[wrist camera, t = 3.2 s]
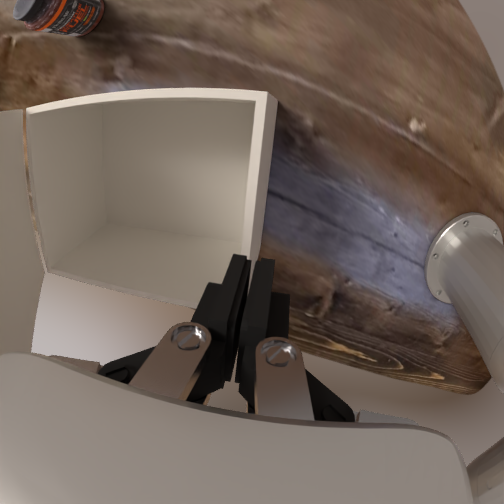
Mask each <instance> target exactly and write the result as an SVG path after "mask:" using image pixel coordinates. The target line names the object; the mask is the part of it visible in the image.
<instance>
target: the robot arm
mask: <svg viewBox="0 0 504 504" xmlns="http://www.w3.org/2000/svg"><path fill="white" fill-rule="evenodd" d="M251 262H252V260H248V259H247V256H245V255H239V254H233V256H232V258H231V261H230V263H229V266H228V269H227V271H226V274H225V276H224V279H223V282H222V284H218V283H212V282H208V284H207V286H206V288H205V290H204V293H203V295H202V297H201V299H200V302H199V304H198V306H197V308H196V311H195V313H194V315H193V317H192V320H191V322H183V323H179V324H176V325H175V326H172V327H171V328H170V329H169V330H168V331H167V333H166V334H165V335H164V337H163V338H162V340H161V341H160V342H159V343H158V345H157V346H155V347H152V348H149V349H146V350H144V351H141V352H138V353H135V354H132V355H129V356H126V357H123V358H120V359H117V360H114V361H111V362H109V363H107V364H105V365H104V366H101V365H100V363H99V362H94V361H86V360H80V359H74V358H68V357H62V356H56V355H55V356H54V355H52V356H45V355H42V354H37V353H31V352H19V351H17V352H8V353H5V354H2V355H0V504H504V437H503V438H502V439H501V440H499V441H498V442H497V443H495V444H494V445H493V446H491V447H490V448H489V449H488V450H486V451H485V452H483V453H482V454H481V455H480V456H478V457H477V458H476V459H474V460H473V461H472V462H471V463H470V464H469V465H468V466H467V467H466V465H465V462H464V460H463V457H462V454H461V452H460V450H459V448H458V446H457V445H456V443H455V442H454V441H453V440H452V439H451V438H450V437H448V436H447V435H445V434H443V433H441V432H439V431H436V430H433V429H429V428H425V427H422V426H419V425H418V424H417V423H416V422H415V421H413V420H410V419H407V418H401V417H395V416H389V415H384V414H379V413H374V412H369V411H365V410H360V411H359V412H355V411H353V410H352V409H351V408H350V407H349V406H348V404H346V403H345V402H344V401H343V400H341V399H340V398H339V397H338V396H337V395H335V394H334V393H333V392H332V391H331V390H329V389H328V388H327V387H326V386H325V385H323V384H322V383H321V382H320V381H319V380H318V379H316V378H315V377H314V376H313V375H312V374H311V373H310V372H308V371H307V370H306V369H305V367H304V362H303V357H302V353H301V350H300V348H299V347H298V346H297V345H296V344H295V343H294V342H292V341H291V340H289V339H288V330H289V303H290V295H289V294H283V293H276V292H271V290H272V282H273V273H274V265H275V260H272V259H265V258H262V259H261V261H256V262H255V266H254V270H253V275H252V279H251V283H250V288H249V280H250V271H251ZM424 273H425V280H426V283H427V286H428V288H429V290H430V291H431V293H432V294H433V296H434V297H435V298H437V299H438V300H440V301H442V302H445V303H451V304H453V306H454V307H455V309H456V311H457V312H458V314H459V316H460V317H461V319H462V321H463V323H464V324H465V326H466V328H467V330H468V331H469V333H470V335H471V337H472V339H473V341H474V342H475V344H476V346H477V348H478V350H479V352H480V354H481V356H482V358H483V360H484V362H485V364H486V366H487V368H488V370H489V372H490V374H491V376H492V378H493V380H494V382H495V384H496V386H497V387H498V388H499V389H500V391H501V392H503V393H504V245H503V240H502V235H501V232H500V229H499V228H498V226H497V225H496V223H495V222H494V221H493V220H491V219H490V218H489V217H487V216H486V215H484V214H481V213H472V212H471V213H466V214H463V215H460V216H458V217H456V218H454V219H453V220H452V221H450V222H449V223H448V224H446V225H445V226H444V227H443V228H442V229H441V231H440V232H439V233H438V234H437V236H436V237H435V239H434V240H433V242H432V244H431V246H430V248H429V251H428V253H427V256H426V261H425V269H424ZM248 288H249V292H248ZM238 346H239V347H238ZM237 350H238V356H237V367H236V375H235V382H236V383H240V384H239V393H240V394H241V395H242V396H243V397H244V398H245V400H246V401H247V404H246V413H243V412H237V411H232V410H226V409H221V408H215V407H211V406H207V404H208V402H209V400H210V397H211V393H212V392H214V391H216V390H218V389H220V388H222V389H223V387H224V383H225V381H229V382H230V380H231V377H232V372H233V368H234V364H235V358H236V355H237Z"/></svg>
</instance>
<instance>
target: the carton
mask: <svg viewBox="0 0 504 504" xmlns="http://www.w3.org/2000/svg"><path fill="white" fill-rule="evenodd" d="M277 106H278V100H277V99H276V98H274V97H273V96H272V95H271V94H269V93H268V92H263V91H252V90H238V89H219V88H164V89H145V90H132V91H121V92H112V93H103V94H96V95H89V96H83V97H77V98H71V99H66V100H61V101H56V102H51V103H46V104H42V105H38V106H34V107H30V108H26V134H27V155H28V167H29V177H30V186H31V193H32V200H33V207H34V213H35V218H36V224H37V229H38V234H39V238H40V243H41V247H42V252H43V256H44V259H45V263H46V267H47V271H48V272H49V273H52V274H56V275H59V276H63V277H66V278H70V279H73V280H77V281H80V282H84V283H87V284H91V285H95V286H99V287H103V288H106V289H110V290H115V291H118V292H122V293H127V294H131V295H135V296H139V297H143V298H148V299H153V300H157V301H162V302H166V303H171V304H176V305H180V306H185V307H190V308H195V309H196V308H197V306H198V304H199V302H200V299H201V297H202V295H203V293H204V290H205V288H206V286H207V284H208V282H212V283H218V284H222V282H223V279H224V276H225V274H226V271H227V269H228V266H229V263H230V261H231V258H232V256H233V254H239V255H245V256H247V259H248V260H252V262H251V271H250V280H249V288H250V283H251V279H252V275H253V270H254V266H255V262H256V261H257V259H258V255H259V251H260V247H261V239H262V231H263V223H264V215H265V207H266V199H267V191H268V182H269V174H270V166H271V157H272V149H273V141H274V132H275V124H276V115H277ZM249 288H248V292H249Z"/></svg>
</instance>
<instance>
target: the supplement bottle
mask: <svg viewBox="0 0 504 504" xmlns="http://www.w3.org/2000/svg"><path fill="white" fill-rule="evenodd" d="M103 12H104V3H103V1H102V0H17V2H16V4H15V7H14V11H13V17H14V19H16V20H21V21H24V24H25V26H26V27H27V28H28V29H30V30H34V31H42V32H50V33H57V34H63V35H68V36H76V37H79V36H83V35H86V34H87V33H89V32H90V31H91V30H93V29H94V28H95V27H96V25H97V24H98V23H99V21H100V20H101V18H102V15H103Z"/></svg>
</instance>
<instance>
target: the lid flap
mask: <svg viewBox="0 0 504 504" xmlns="http://www.w3.org/2000/svg"><path fill="white" fill-rule="evenodd" d="M44 274H45V271H44V268H43V264H42V260H41V256H40V252H39V248H38V244H37V240H36V235H35V230H34V225H33V220H32V215H31V209H30V203H29V196H28V189H27V181H26V172H25V161H24V145H23V109H19V110H8V111H0V355H2V354H5V353H8V352H17V351H19V352H31V347H32V339H33V332H34V325H35V319H36V313H37V307H38V302H39V296H40V292H41V287H42V283H43V278H44Z"/></svg>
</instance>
